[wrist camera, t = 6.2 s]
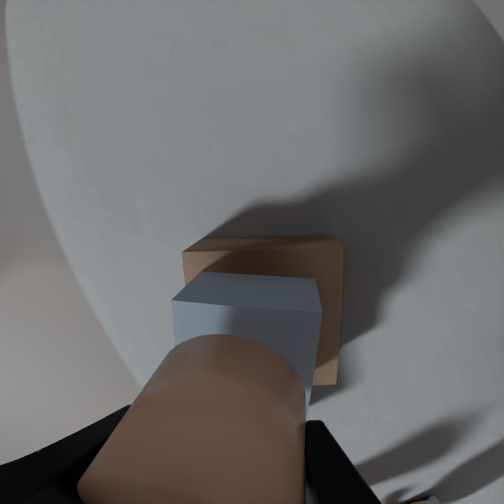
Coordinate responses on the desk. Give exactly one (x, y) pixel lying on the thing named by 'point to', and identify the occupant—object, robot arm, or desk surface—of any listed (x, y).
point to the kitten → (429, 501)
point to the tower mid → (254, 314)
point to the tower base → (286, 265)
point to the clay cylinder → (208, 431)
